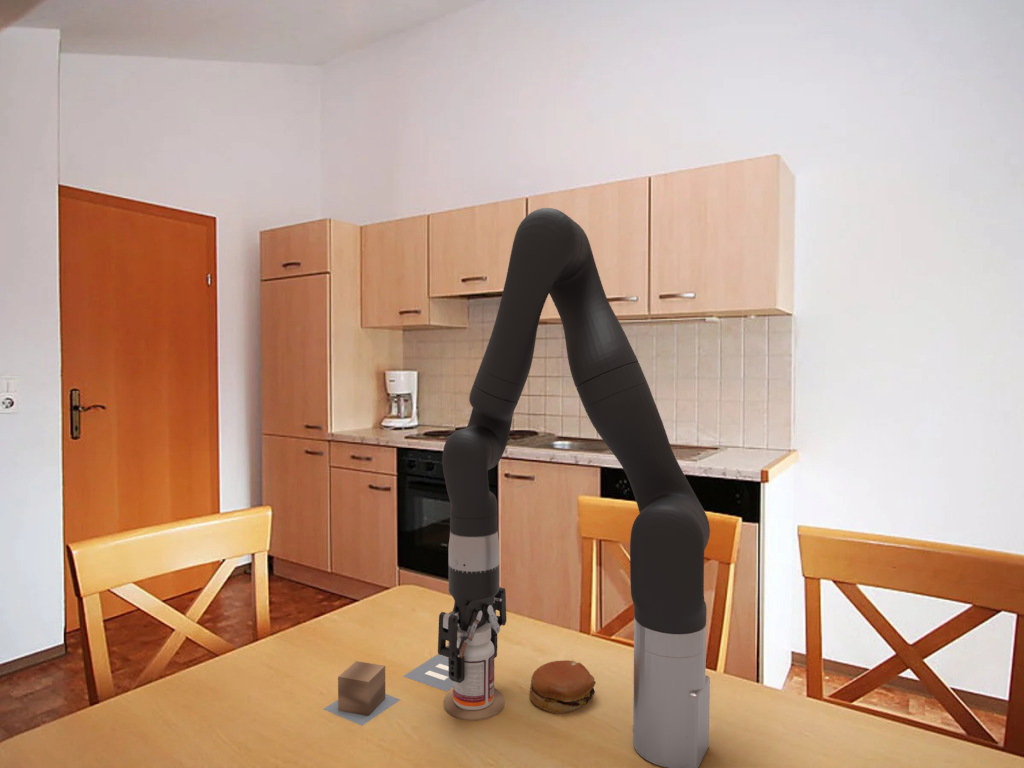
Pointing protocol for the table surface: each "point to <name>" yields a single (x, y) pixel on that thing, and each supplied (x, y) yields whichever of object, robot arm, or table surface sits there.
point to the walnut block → (361, 688)
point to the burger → (561, 686)
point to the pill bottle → (476, 672)
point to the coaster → (474, 714)
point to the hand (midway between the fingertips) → (474, 668)
